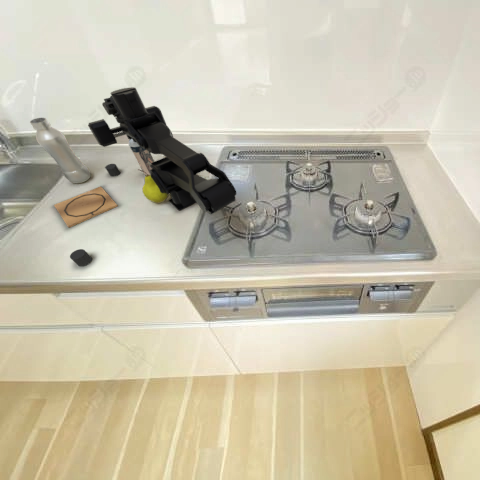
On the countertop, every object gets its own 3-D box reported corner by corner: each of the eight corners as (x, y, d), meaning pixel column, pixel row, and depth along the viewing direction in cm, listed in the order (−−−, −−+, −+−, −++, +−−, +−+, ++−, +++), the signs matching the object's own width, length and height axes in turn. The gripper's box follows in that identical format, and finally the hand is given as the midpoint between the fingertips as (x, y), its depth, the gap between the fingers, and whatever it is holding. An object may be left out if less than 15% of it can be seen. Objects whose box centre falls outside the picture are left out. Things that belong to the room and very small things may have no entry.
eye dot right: (122, 173, 95) (117, 166, 93) (112, 177, 94) (107, 170, 91) (118, 170, 97) (113, 162, 94) (108, 173, 95) (103, 166, 93)
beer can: (155, 176, 94) (139, 144, 86) (141, 176, 94) (124, 143, 86) (161, 168, 98) (146, 136, 89) (147, 168, 98) (131, 136, 89)
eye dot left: (94, 261, 70) (87, 253, 68) (80, 268, 68) (72, 261, 66) (89, 254, 71) (82, 247, 69) (75, 261, 70) (67, 254, 67)
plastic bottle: (96, 179, 93) (55, 120, 78) (73, 188, 89) (26, 128, 74) (89, 171, 96) (48, 113, 81) (67, 180, 92) (20, 120, 77)
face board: (117, 206, 84) (116, 204, 83) (69, 227, 77) (67, 226, 77) (101, 187, 90) (100, 185, 89) (55, 206, 83) (53, 204, 83)
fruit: (166, 190, 90) (150, 157, 81) (177, 199, 87) (161, 166, 78) (145, 200, 86) (126, 166, 77) (155, 210, 83) (136, 176, 74)
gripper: (160, 89, 76) (138, 84, 84) (83, 107, 66) (67, 99, 74) (176, 131, 83) (154, 122, 92) (110, 152, 73) (92, 140, 82)
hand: (120, 120), depth 85 cm, fingers open, 9 cm apart
